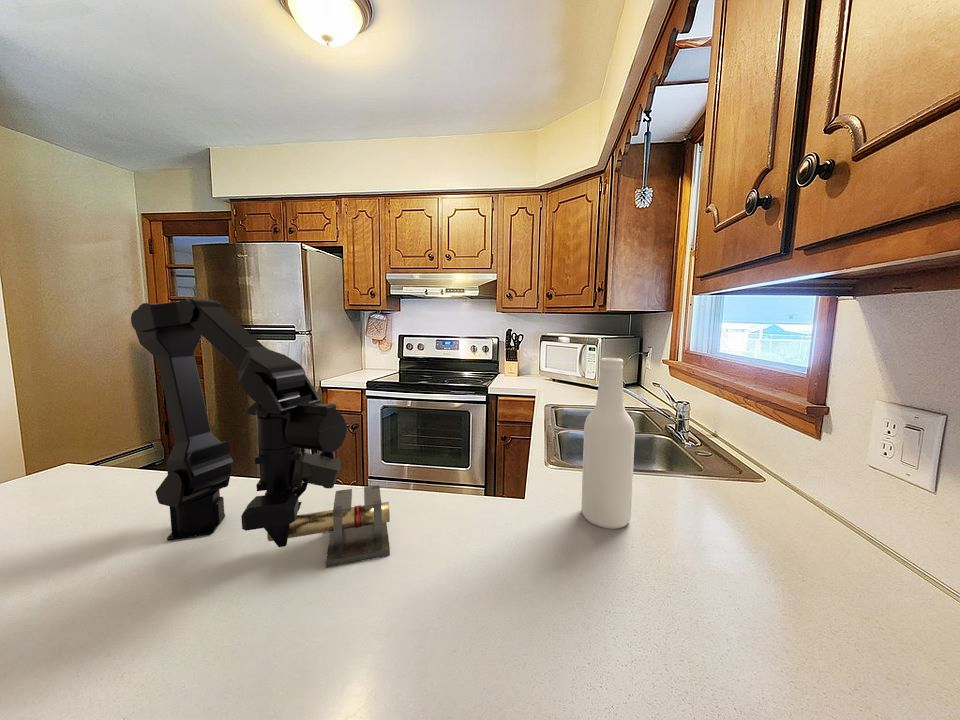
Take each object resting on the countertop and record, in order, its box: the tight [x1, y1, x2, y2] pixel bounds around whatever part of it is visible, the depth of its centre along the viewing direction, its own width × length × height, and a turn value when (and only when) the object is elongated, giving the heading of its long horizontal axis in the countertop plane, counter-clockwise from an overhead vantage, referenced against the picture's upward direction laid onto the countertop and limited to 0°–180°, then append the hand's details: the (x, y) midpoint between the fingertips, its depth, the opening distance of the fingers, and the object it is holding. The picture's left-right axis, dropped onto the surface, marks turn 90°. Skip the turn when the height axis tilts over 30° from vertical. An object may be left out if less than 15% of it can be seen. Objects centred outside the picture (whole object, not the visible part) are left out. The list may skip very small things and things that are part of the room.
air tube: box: [266, 501, 391, 542], centre depth 58 cm, size 18×3×3 cm, turn 108°
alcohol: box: [580, 357, 636, 530], centre depth 66 cm, size 9×9×30 cm
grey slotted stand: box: [325, 484, 391, 569], centre depth 60 cm, size 9×12×7 cm
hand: (284, 539), depth 56 cm, fingers closed on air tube, 3 cm apart
